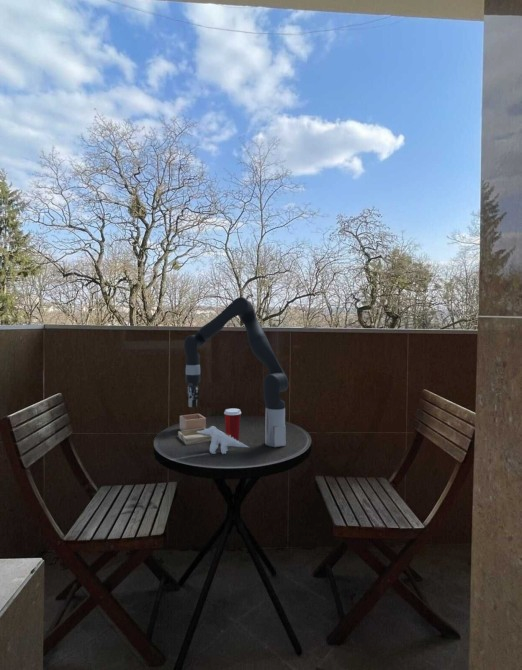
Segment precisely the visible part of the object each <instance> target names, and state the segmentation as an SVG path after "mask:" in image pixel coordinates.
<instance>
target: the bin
mask: <svg viewBox="0 0 522 670" xmlns="http://www.w3.org/2000/svg"><path fill="white" fill-rule="evenodd" d="M199 428H206V429H207V417H205V416H203V415H202V414H200V413H194V414H184V415H179V431H184V430H192V429H199Z"/></svg>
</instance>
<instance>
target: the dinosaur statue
mask: <svg viewBox="0 0 522 670" xmlns="http://www.w3.org/2000/svg"><path fill="white" fill-rule="evenodd" d="M197 433H201V434H207V435H211V437H212V439H211V441H210V445H209V453H210V454H212V455H215V454H217V449H218V448H219V445H220V452H221V454H222V455H224V454H225V455H227V452H228V447H236V448H237V447H239V448H241V447H242V448H249V446H248V445H246V444H245V443H243V442H241V441H240V440H236V439H234V437H231V435H230V436H228V435H226V432H223V431H221V430H220V429H218V428H217V427H216V426H215V425H211V426H210V427H208V428H206V429H205V430H202V431H197Z"/></svg>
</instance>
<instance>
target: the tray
mask: <svg viewBox="0 0 522 670" xmlns="http://www.w3.org/2000/svg"><path fill="white" fill-rule="evenodd" d="M205 429H207V427H206V428H199V429H192V430H184V431H182V430H178V431H177V438H178V439H180V440H181V442H183V443H184V444H185V445H186V446H191V445H197V444H202V443H203V444H204V443H208V442H210V443H211V439H212V437H211V435H207V434H201V433H197V431H202V430H205Z"/></svg>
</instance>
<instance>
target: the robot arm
mask: <svg viewBox="0 0 522 670" xmlns="http://www.w3.org/2000/svg"><path fill="white" fill-rule="evenodd" d="M237 316H238V317H239V318H240V320H241V321H242V323H243V325H244V328H245V331H246V335H247V341H248V345H249V346H250V349H251V351H252V354H253V356H255V357H256V358H257V359H258V361H260V362H261V364H263V365H264V366H265V368H266V369H267V371H268V373H269V374H267V375H266V376H265V377H264V379H263V384H262V385H263V401H264V404H265V419H264V420H265V425H264V426H265V429H264V430H265V433H264V434H265V436H264V439H265V440H264V441H265V445H266V446H268V447H273V448H278V447H285V446H286V444H287V443H286V438H287V436H286V435H287V430H286V429H287V425H286V402H285V400H283V399H281V394H280V393H282V392H286V391H287V390H288V389H289V384H290V383H289V379H288V376H287V374H286V373H285V371H284V369H283V368H282V366H281V364H280V363H279V361H278V359H277V357H276V354H275V352H274V351H273V348H272V346H271V344H270V341H269V340H268V338H267V335H266V333H265V331H264V329H263V328H262V326H261V324H260V323H259V320H258V317H257V314H256V310H255V308H254V305H253V304H252V303H251V301H249V300H248V299H247V298H245V297H243V296H239V297H237V298H235V299H234V300H232V301H231V302H230V304H228V305H227V306H226V307H225V309H223V310H222V312H220V313H219V314H218V315H217V316H215V317H214V318H213V319H211V320H210V321H208V323H206V324H204V325H203V326H202V327H200V328H199V330H198V331H197V332H196V333H194V334H193V335H192V334H190V335H187V336H186V337H185V339H184V344H183V346H184V353H185V356H186V357H185V359H186V361H185V383H187V384H186V394H187V397H188V399H189V398H192V407H191V408H197V407H198V400H199V396H200V388H199V386H198V384H199V383H201V356H200V353H199V350H198V348H199V347H201V346H202V345H204V344H205V343H206V342H207V341H208V340H210V339H211V338H213V337H214V336H216V335H217V334H218V333H219V332H221V330H222V329H223V328H224V327H225V326H226V324H227V323H228V322H230V321H231V320H233V319H234V318H235V317H237Z"/></svg>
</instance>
